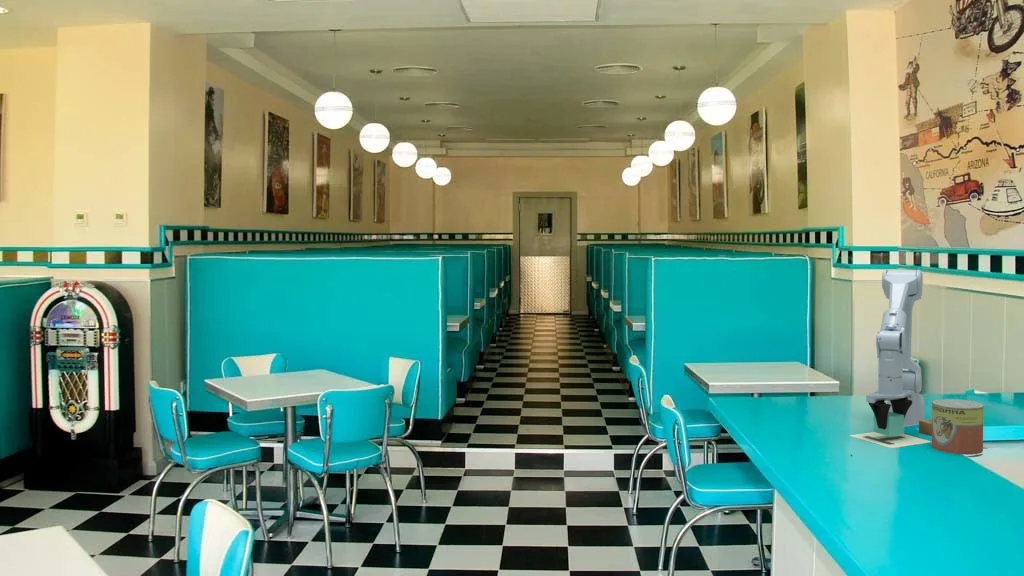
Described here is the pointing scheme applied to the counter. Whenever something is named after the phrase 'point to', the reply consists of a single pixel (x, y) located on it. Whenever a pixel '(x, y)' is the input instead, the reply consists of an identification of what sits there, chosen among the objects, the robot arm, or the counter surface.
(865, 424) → the counter surface
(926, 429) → the walnut block
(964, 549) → the counter surface
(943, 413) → the canned food
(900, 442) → the board
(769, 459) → the counter surface
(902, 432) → the turquoise cube
